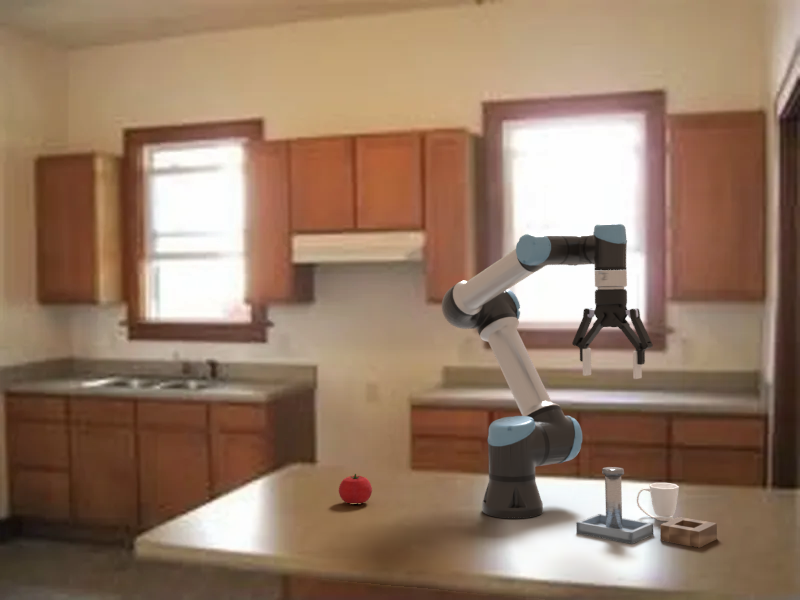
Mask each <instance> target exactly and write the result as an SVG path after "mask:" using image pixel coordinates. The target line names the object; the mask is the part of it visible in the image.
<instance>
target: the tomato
mask: <svg viewBox="0 0 800 600" xmlns="http://www.w3.org/2000/svg"><path fill="white" fill-rule="evenodd" d="M372 492H373V487H372V484H371V482H370V481H369V479H368V478H367V477H365V476H362V475H357V474H356V473H354V475H349V476H347V477H345V478H344V479H342V481H341V482H340V484H339V487H338V494H339V497H340V498H341V501H343V502H344V503H346V502H347V503H363V502H365V503H366V502H367V501H368V500H369V499H370V498H371V496H372ZM347 503H346V504H347ZM363 504H364V503H363Z"/></svg>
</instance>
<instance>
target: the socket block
mask: <svg viewBox="0 0 800 600" xmlns="http://www.w3.org/2000/svg"><path fill="white" fill-rule="evenodd" d="M717 525H718V524H717V522H710V521H705V520H700V519H692V518H688V517H681V516H677V517H675V518H674V519H673V520H670V521H665V522H663V523H661V524H660V525H659V528H660V529H659V530H660V531H659V532H660V534H659V535H660V541H662V542H666V543H670V544H671V543H672V544H677V545H682V546H687V547H692V546H694V547H693V548H697V547H698V549H700V548H702V547H704V546H705V545H708V544H710V543H712V542H714V541H716V540H717V539H718V526H717Z"/></svg>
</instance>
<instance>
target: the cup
mask: <svg viewBox="0 0 800 600" xmlns="http://www.w3.org/2000/svg"><path fill="white" fill-rule="evenodd" d="M648 486H649V487H644V488H641V489H640V490H639V492H638V493H637V496H636V504H637V507H638V508H639V510H641V512H642V513H644V514H645V515H647V516H648V517H650V518H652V519H655V520H657V521H660V522H661V521H662V522H668V521H670V520H673V519H675V518H674V517H673V516H674V515H675V514H676V513H675V512H676V509H677V505H678V504H677V503H678V497H679V496H678V495H679V491H680V490H679V489H680V486H679V485H677V484H676V483H670V482H653V483H651V484H648ZM642 491H646V492H650V499H651V504H652V505H651V506H652V508H653V512H654V514H655V515H652V514H650V513H649V512H648V511H646V510H645V509H644V508H643V507H642V506H641V504H640V502H639V497H640V494H641V492H642Z"/></svg>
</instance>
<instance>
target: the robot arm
mask: <svg viewBox="0 0 800 600" xmlns="http://www.w3.org/2000/svg"><path fill="white" fill-rule="evenodd" d="M626 232H627V230H626V227H625V225H624V224H621V223H600V224H595V226H594V229H593V233H583V234H581V233H580V234H577V233H576V234H573V233H572V234H571V233H566V234H565V233H541V232H532V233H526V234H523V235H521V236H520V238H519V240H518V241H517V242H516V245H515V249H513V250H512V251H510V252H509V253H507V254H506V255H504V256H503V257H502V258H500V259H498V260H497V261H495V262H494V263H492V264H491V265H490V266H488V267H486V268H485V269H483V270H482V271H481V272H479V273H478V274H475V275H474V276H472V278H470V279H469V280H462V281H459V282H457V283H456V284H455V285H452V286H451V287H450V288H448V290H447V291H446V292H445V294H444V296H443V298H442V301H441V312H442V314H443V316H444V319H445V320H446V321H447V323H449V324H450V325H452V326H454V327H455V328H458V329H462V330H467V329H468V330H469V329H471V330H472V329H473V330H474V329H475V330H476V331H477V333H478V335H479V338H480V339H481V340H482V341H484V342H487V343H488V344H489V346H490V348H491V352H492V353H493V355H494V357H495V359H496V362H497V364H498V365H499V367H500V370H501V372H502V375H503V376H504V379H505V381H506V383H507V385H508V388H509V390H510V391H511V394H512V396H513V398H514V400H515V403H516V406H517V408H518V409H519V412H520V414H521V415H515V416H505V417H501V418H498V419H495V420H494V421H492V422H491V423H490V425H489V427H488V435H487V436H488V437H487V443H488V445H487V446H488V447H487V449H488V483H487V486H486V490H485V493H484V496H483V499H482V503H481V505H482V513H483V514H485V515H487V516H490V517H493V518H499V519H500V518H501V519H512V520H513V519H528V518H533V517H537V516H540V515H541V514H543V513H544V511H543V509H544V507H543V506H544V505H543V504H544V503H543V501H542V497H541V495H540V490H539V488H538V486H537V481H536V467H542V466H548V465H554V464H563V463H564V462H568V461H571V460H573V459H575V458H576V457H577V456H578V454H579V452H580V451H581V448H582V443H583V431H582V428H581V425H580V423H579V421H577V419H575V418H574V417H572V416H570V415H565V414H564V412H563V409H562V407H561V406H560V405H559V404H558V403H555V402H552V400H551V397H550V395H549V394H548V392H547V389H546V387H545V385H544V383H543V382H542V379H541V377H540V375H539V372H538V370H537V368H536V367H535V364H534V362H533V360H532V358H531V356H530V354H529V352H528V350H527V347H526V346H525V344H524V342H523V339H522V337H521V336H520V335H521V334H520V333H519V331H518V330H517V329H518V327H519V324H520V321H519V319H520V317H521V316H520V315H521V310H519V309H521V305H520V301H519V299H518V297H517V295H516V293H514V292H513V291H512V290H511V289H510V288H512V287H514V286H515V285H517V284H518V283H520V282H522V281H523V280H525V279H527V278H528V277H530V276H531V275H533V274H534V273H536V272H538V271H540V270H541V269H543V268H545V267H547V266H553V265H554V266H556V265H557V266H560V265H561V266H562V265H563V266H565V265H566V266H582V265H594V287H595V288H596V289H595V290H594V304H595V308H594V309H593V308H590V307H589V308H588V307H587V308H584V309H583V315H582V319H581V321H580V324H579V326H578V328H577V330H576V333H575V335H574V338H573V340H572V345H573V346H575V347H577V348H578V349H579V361H580V362H581V363H582V376H584V377H586V376H591V375H592V348H590V346H591V344H592V342H593V340H594V339H596V337H597V335H598V334H599V333H600V332H601V330H602V329H603V328H618V329H619V330H621V331H622V333H623V334H624V335H625V337H626V338H627V340H629V342H630V343H631V345H632V346H633V348H634V349H635V350H633V351H632V364H633V365H632V373H633V374H632V376H633V377H632V378H633V380H638V379H643V372H642V371H643V368H642V366H643V365H645V363H646V360H645V359H646V356H645V355H646V350H648V349H650V348H651V349H652V348H653V343H652V340H651V338H650V336H649V334H648V331H647V329H646V328H645V325H644V323H643V321H642V319H641V312H640V309H639V308H631V309H628V307H627V304H628V290H627V289H626V287H627V286H628V277H627V276H628V275H627V247H628V246H627V243H628V240H627V233H626ZM594 317H596V320H594V322H593V325H592V327H591V328H590V330H589V327H590V326H591V323H592V320H593V318H594ZM627 317H628V318H629V319H630V320H631V323H632V325H633V328H634V330H635V331H634V330H633V329H632V327H631V326H630V323H629V322H628V320H627V319H626V318H627ZM588 330H589V331H588Z"/></svg>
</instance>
